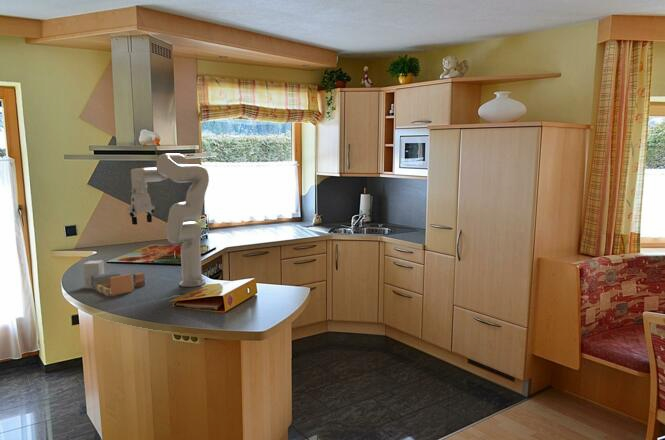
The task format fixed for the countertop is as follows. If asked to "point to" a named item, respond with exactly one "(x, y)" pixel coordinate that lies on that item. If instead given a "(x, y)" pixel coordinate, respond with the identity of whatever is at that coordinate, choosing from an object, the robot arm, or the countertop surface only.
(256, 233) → the countertop surface
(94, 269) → the supplement box
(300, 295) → the countertop surface
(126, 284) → the panel
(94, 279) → the truck bed
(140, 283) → the block
